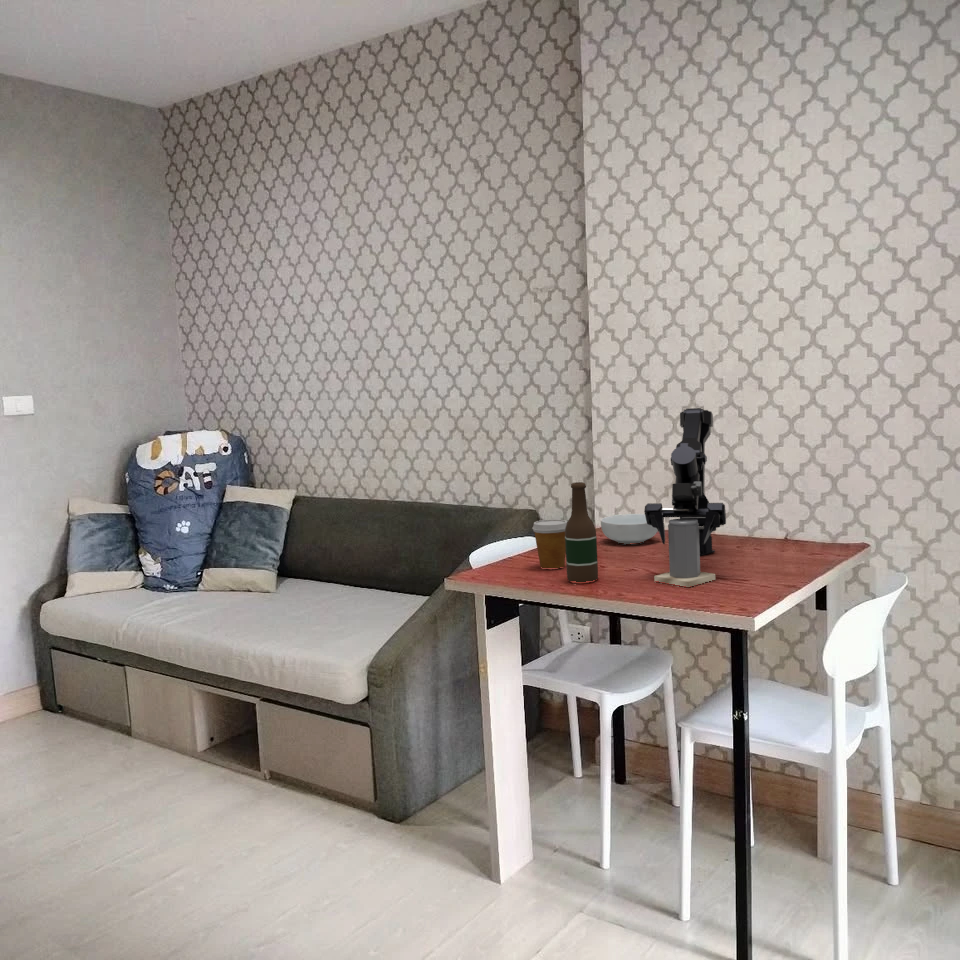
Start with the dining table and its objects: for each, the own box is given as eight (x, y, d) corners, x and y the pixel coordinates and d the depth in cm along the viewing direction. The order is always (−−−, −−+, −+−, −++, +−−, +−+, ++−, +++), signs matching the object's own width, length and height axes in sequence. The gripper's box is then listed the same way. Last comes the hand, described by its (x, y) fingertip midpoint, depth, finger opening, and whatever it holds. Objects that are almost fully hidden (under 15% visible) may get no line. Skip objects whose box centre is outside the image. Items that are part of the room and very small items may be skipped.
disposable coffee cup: (575, 564, 250) (573, 519, 249) (563, 572, 241) (561, 525, 240) (542, 563, 254) (539, 519, 253) (528, 570, 245) (526, 525, 244)
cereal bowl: (589, 544, 277) (588, 520, 277) (625, 535, 289) (624, 512, 288) (636, 549, 265) (635, 524, 264) (671, 540, 276) (670, 516, 275)
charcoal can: (665, 574, 226) (663, 520, 224) (689, 570, 228) (688, 517, 227) (680, 579, 220) (678, 524, 218) (704, 575, 222) (703, 521, 220)
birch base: (654, 582, 225) (654, 575, 225) (681, 574, 231) (681, 568, 231) (688, 588, 217) (688, 581, 217) (715, 580, 223) (715, 574, 223)
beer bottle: (601, 577, 233) (597, 480, 230) (594, 584, 226) (590, 484, 223) (570, 576, 236) (566, 481, 233) (563, 583, 228) (558, 485, 226)
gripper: (644, 470, 228) (638, 523, 219) (723, 468, 222) (721, 523, 213) (649, 498, 236) (644, 550, 227) (727, 497, 230) (725, 550, 221)
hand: (683, 543), depth 222 cm, fingers open, 9 cm apart
